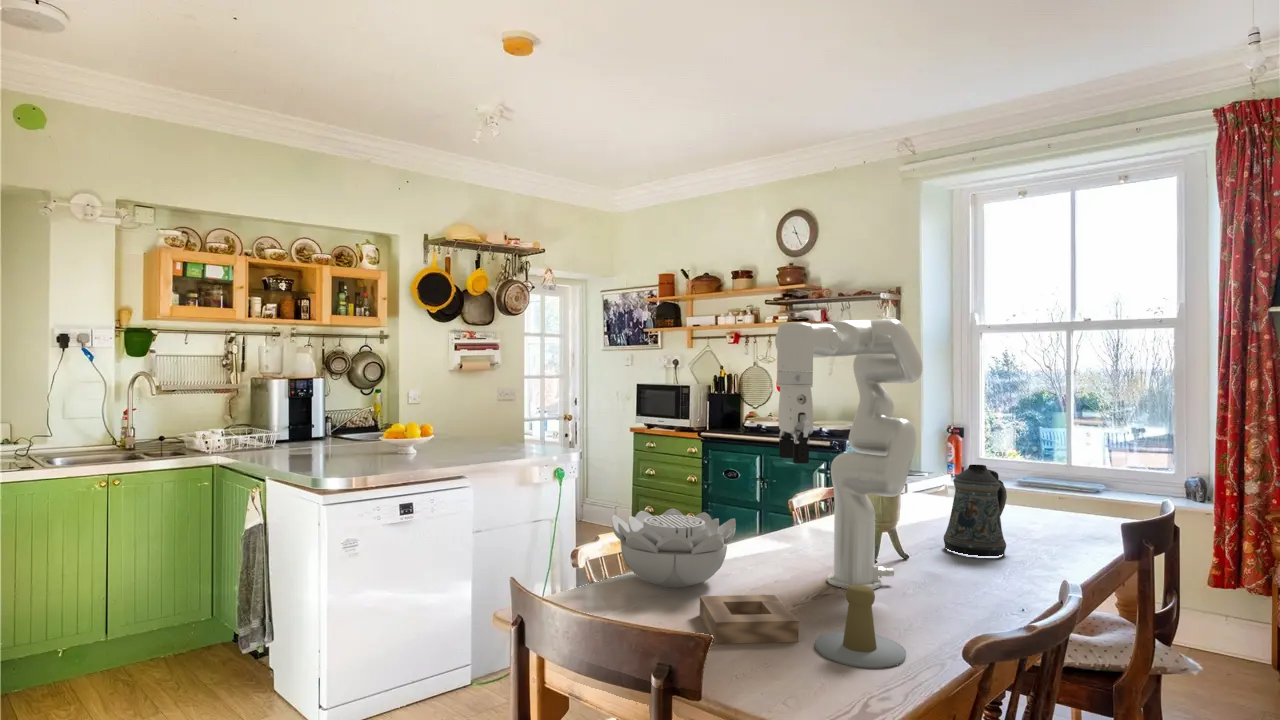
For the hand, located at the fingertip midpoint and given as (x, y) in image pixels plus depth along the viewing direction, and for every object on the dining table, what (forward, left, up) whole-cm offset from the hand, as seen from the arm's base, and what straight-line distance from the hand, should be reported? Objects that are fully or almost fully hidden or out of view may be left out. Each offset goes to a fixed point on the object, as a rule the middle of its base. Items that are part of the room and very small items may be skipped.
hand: (793, 460), depth 158 cm
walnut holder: (+12, +9, -32) cm, 36 cm away
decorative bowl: (+21, -23, -32) cm, 45 cm away
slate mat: (-6, +22, -32) cm, 40 cm away
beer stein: (-71, -50, -32) cm, 93 cm away
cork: (-6, +22, -32) cm, 39 cm away
